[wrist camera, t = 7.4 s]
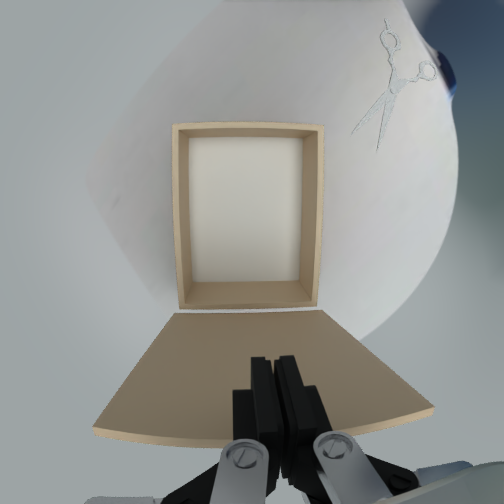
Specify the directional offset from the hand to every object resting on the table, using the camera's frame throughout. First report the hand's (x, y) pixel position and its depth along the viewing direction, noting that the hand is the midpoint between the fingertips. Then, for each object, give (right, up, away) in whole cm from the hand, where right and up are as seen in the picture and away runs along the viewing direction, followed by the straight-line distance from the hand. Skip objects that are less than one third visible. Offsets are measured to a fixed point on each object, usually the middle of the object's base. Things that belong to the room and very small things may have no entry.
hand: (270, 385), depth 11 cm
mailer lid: (0, -1, +9) cm, 9 cm away
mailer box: (-1, +10, +23) cm, 26 cm away
